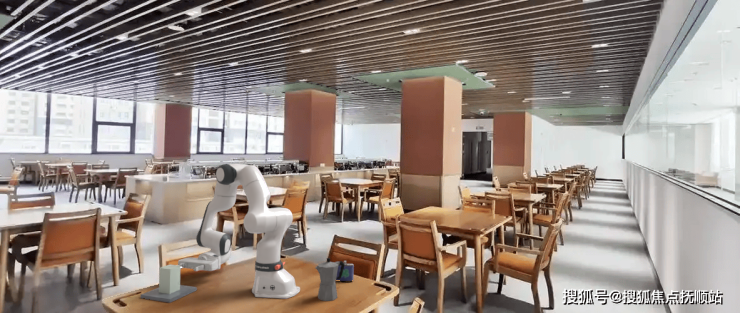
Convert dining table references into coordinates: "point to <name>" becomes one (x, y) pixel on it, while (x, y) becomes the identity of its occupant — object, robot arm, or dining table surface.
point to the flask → (346, 272)
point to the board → (168, 297)
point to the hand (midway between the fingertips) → (186, 268)
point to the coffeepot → (328, 279)
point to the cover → (169, 279)
